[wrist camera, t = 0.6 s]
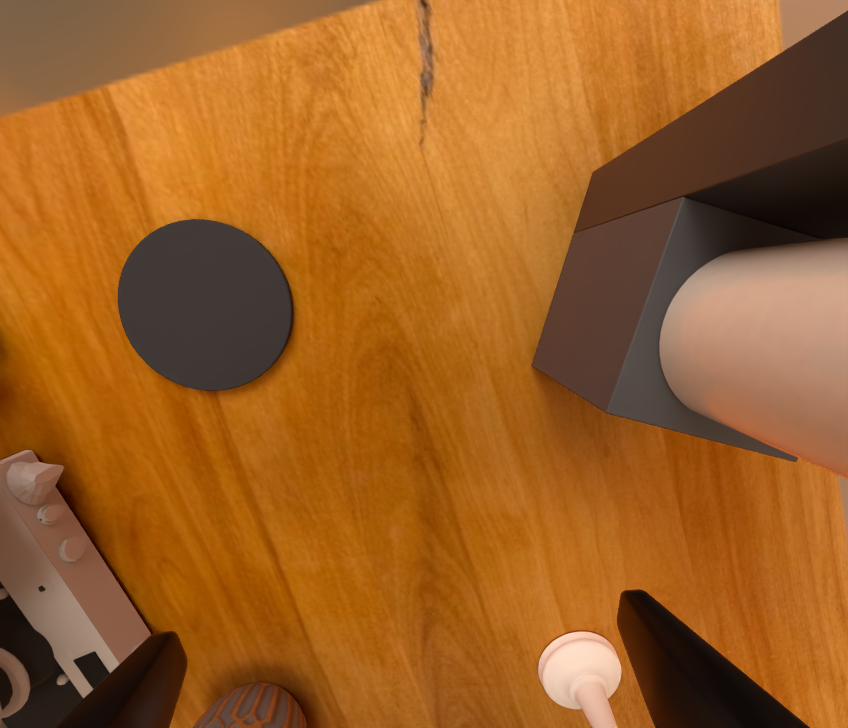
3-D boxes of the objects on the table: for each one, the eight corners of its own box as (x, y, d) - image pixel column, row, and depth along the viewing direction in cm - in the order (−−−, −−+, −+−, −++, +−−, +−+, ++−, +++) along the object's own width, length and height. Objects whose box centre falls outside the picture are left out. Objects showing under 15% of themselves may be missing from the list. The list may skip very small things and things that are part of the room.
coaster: (310, 372, 22) (308, 373, 21) (152, 402, 22) (147, 405, 21) (269, 205, 20) (266, 203, 20) (99, 238, 20) (93, 237, 20)
